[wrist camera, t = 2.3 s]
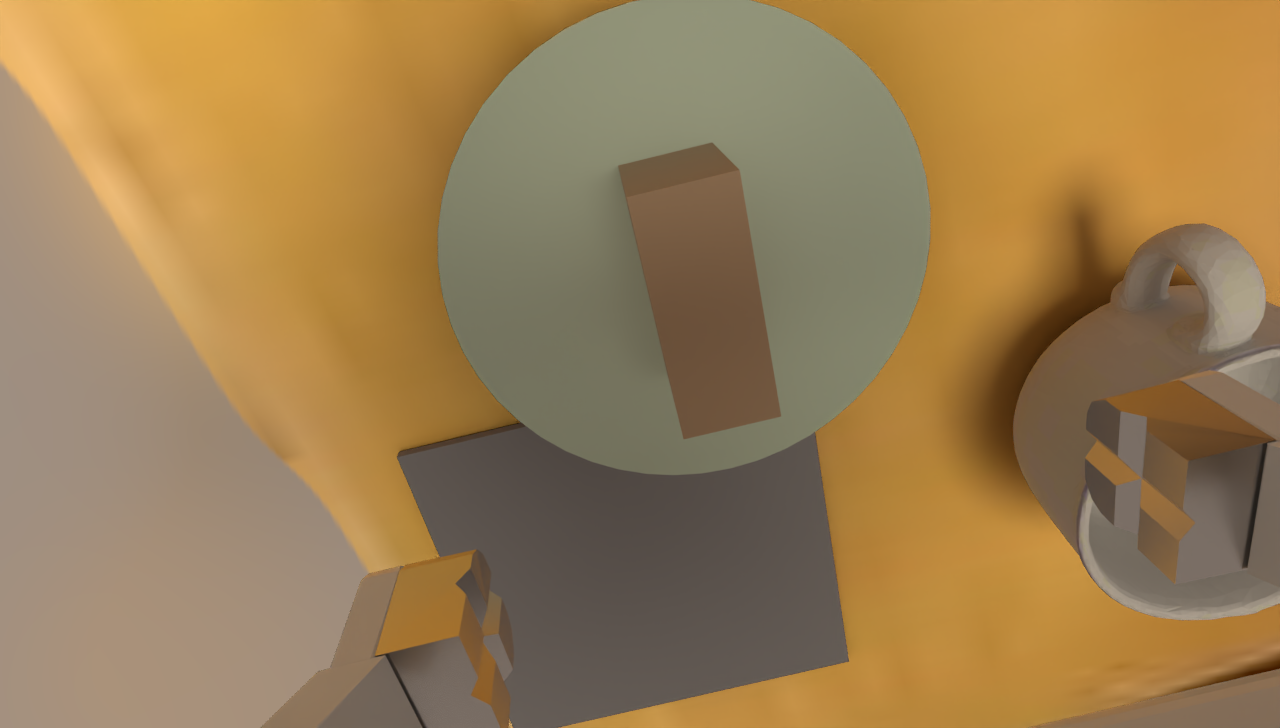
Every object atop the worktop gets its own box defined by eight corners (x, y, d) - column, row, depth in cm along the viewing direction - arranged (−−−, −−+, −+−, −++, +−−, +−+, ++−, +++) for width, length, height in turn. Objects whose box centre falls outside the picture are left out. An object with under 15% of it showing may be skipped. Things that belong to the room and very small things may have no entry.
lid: (929, 402, 24) (1001, 484, 20) (523, 498, 24) (512, 598, 20) (896, -66, 18) (987, -85, 14) (369, 67, 19) (312, 85, 15)
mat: (846, 655, 36) (848, 661, 36) (518, 729, 37) (517, 736, 36) (801, 355, 30) (804, 360, 29) (398, 451, 30) (396, 457, 30)
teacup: (1218, 469, 34) (1395, 596, 26) (972, 519, 34) (1081, 660, 26) (1270, 147, 28) (1517, 197, 20) (971, 209, 28) (1112, 281, 20)
